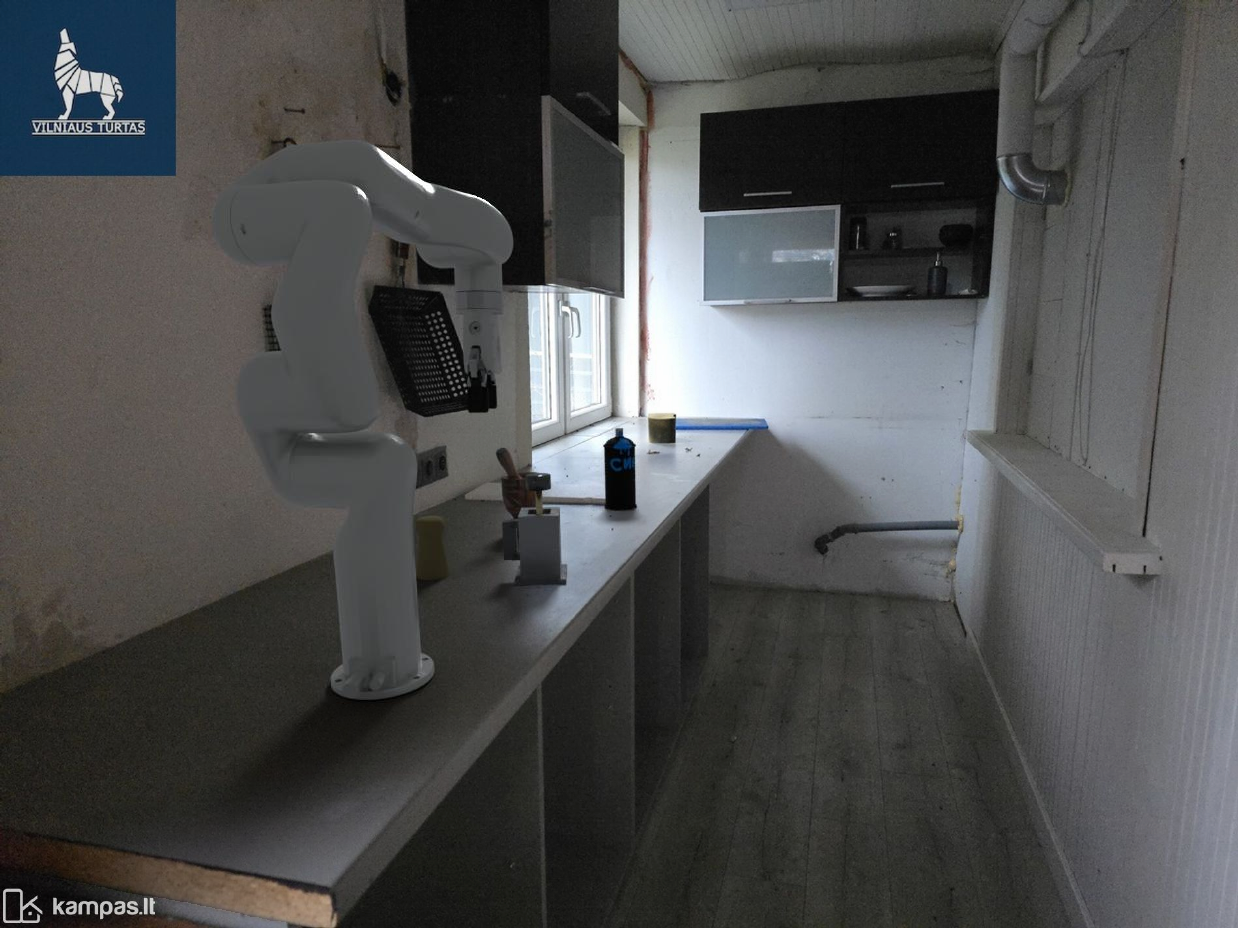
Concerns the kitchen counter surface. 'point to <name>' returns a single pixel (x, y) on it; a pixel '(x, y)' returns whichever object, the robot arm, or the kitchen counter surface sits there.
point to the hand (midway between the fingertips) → (483, 410)
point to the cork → (431, 549)
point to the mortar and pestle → (514, 486)
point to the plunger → (538, 487)
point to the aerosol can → (620, 472)
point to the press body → (535, 546)
